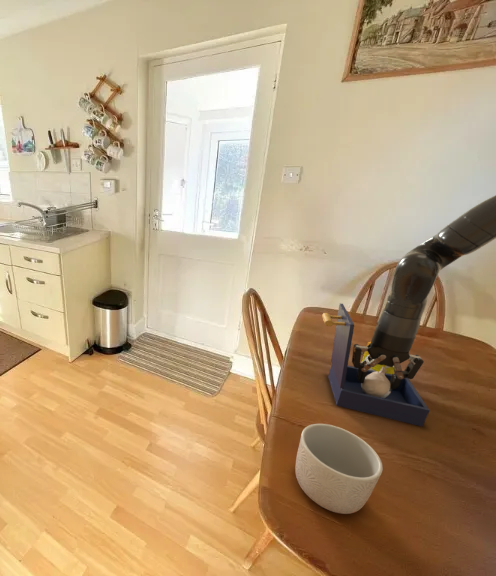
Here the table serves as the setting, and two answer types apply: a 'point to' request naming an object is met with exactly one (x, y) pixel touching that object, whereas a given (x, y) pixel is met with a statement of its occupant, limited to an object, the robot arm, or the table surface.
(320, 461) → the planter
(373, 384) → the garlic bulb
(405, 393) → the hinged blue tray
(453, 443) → the table surface
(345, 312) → the cover
